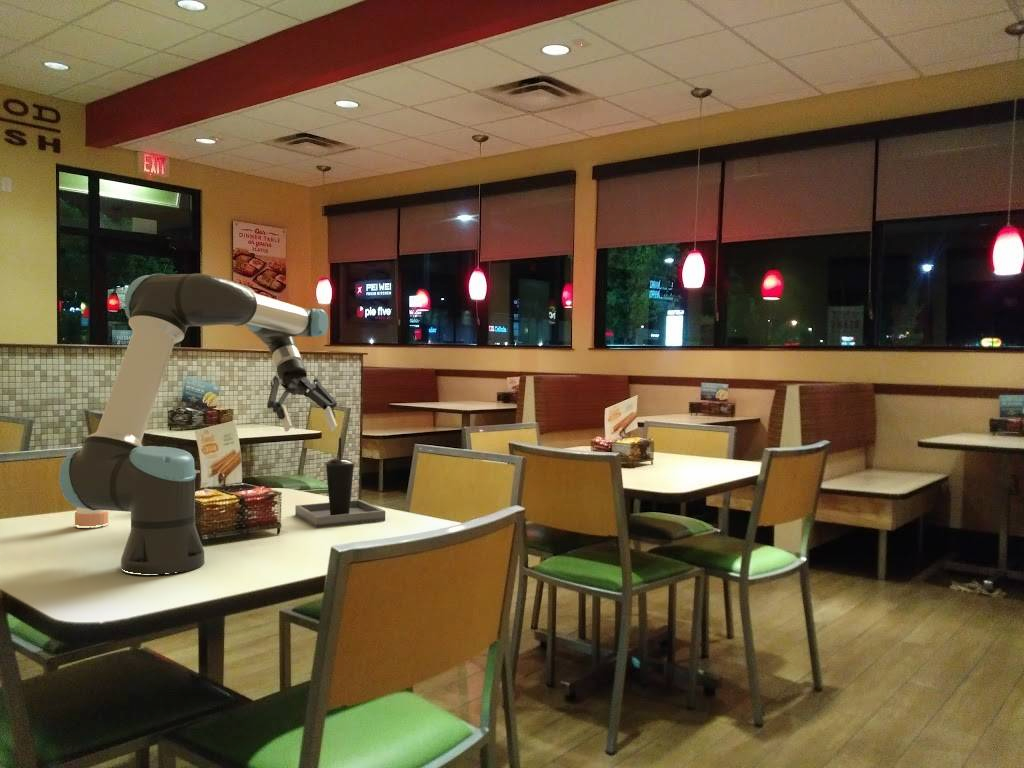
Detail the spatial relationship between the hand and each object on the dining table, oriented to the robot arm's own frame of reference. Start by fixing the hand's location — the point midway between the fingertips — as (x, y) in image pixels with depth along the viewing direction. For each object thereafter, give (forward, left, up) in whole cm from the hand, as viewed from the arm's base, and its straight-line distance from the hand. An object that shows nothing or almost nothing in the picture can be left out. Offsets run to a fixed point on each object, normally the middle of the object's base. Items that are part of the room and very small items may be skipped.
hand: (311, 428), depth 209 cm
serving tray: (+5, -9, -23) cm, 25 cm away
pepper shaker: (-51, +10, -23) cm, 57 cm away
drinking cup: (+5, -9, -22) cm, 24 cm away
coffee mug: (-29, +24, -23) cm, 44 cm away
